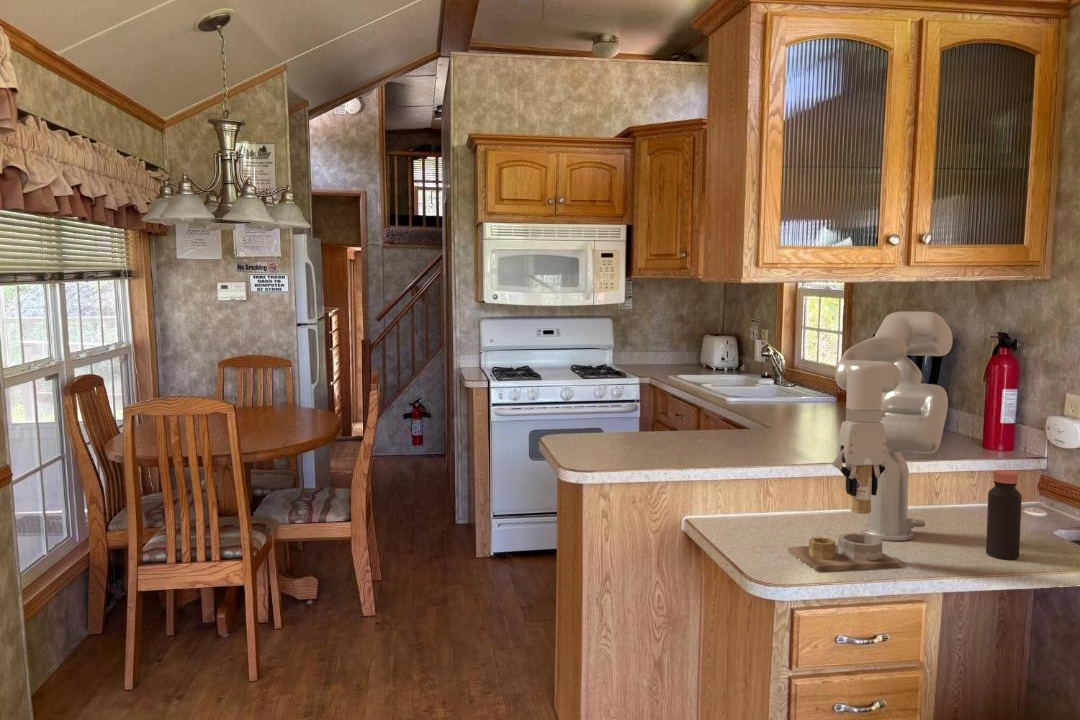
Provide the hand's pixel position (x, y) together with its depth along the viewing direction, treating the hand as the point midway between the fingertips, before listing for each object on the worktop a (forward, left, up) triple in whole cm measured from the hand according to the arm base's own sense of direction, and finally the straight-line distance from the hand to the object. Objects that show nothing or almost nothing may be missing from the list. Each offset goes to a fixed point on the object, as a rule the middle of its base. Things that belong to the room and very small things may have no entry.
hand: (861, 493), depth 179 cm
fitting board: (+4, 0, -16) cm, 16 cm away
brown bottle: (-35, +3, -16) cm, 38 cm away
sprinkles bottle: (0, 0, -5) cm, 5 cm away
